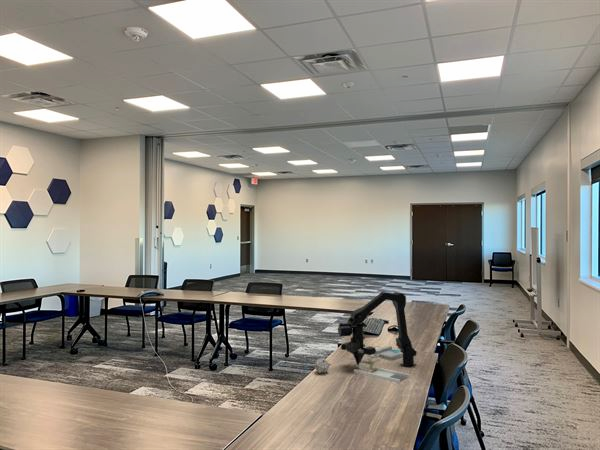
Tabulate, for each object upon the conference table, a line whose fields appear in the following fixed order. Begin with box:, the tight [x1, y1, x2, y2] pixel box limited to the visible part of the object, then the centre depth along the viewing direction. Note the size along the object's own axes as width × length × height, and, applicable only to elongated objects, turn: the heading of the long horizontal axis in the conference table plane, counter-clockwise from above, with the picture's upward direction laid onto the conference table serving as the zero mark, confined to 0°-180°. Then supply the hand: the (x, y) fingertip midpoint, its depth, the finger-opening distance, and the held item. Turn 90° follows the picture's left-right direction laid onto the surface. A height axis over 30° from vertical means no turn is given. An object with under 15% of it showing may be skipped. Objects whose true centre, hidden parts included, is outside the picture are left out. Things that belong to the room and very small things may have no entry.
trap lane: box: [353, 366, 411, 384], centre depth 218 cm, size 11×26×2 cm, turn 48°
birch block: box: [358, 359, 376, 373], centre depth 224 cm, size 6×6×4 cm
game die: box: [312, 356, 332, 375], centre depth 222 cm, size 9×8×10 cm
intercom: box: [366, 345, 403, 362], centre depth 249 cm, size 13×4×25 cm
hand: (358, 364), depth 228 cm, fingers closed
